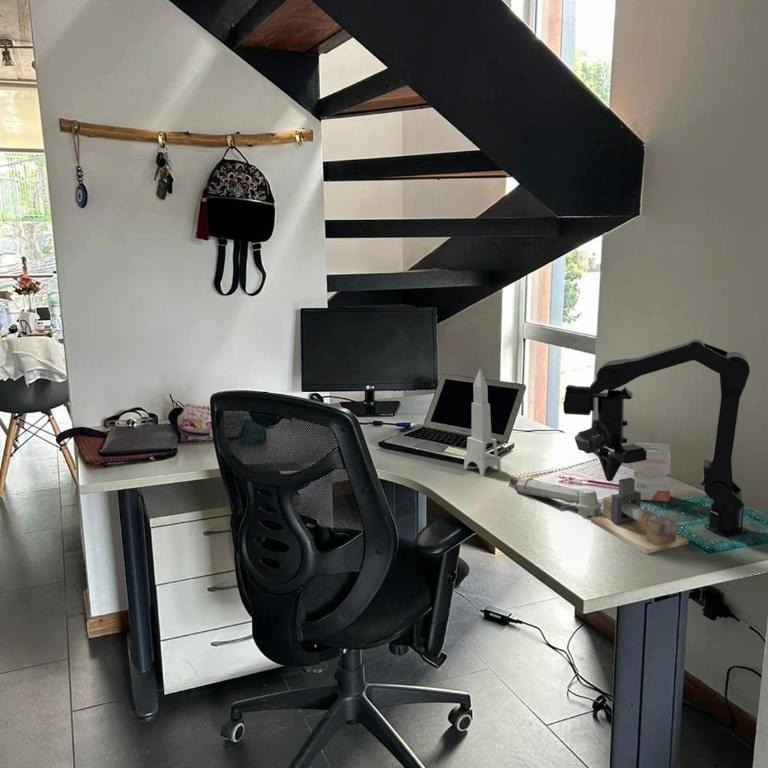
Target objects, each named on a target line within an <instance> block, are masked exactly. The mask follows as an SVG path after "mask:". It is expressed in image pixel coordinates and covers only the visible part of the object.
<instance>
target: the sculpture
mask: <svg viewBox="0 0 768 768" xmlns="http://www.w3.org/2000/svg"><path fill="white" fill-rule="evenodd" d="M472 387H473V389H472V391H473V392H472V393H473V402H471V430H470V431H471V436H467V439H466V454H464V462H463V469H465V470H467V468H468V465H469V463H471V462H472V463H475V464H476V466H477V467H478V469H479V476H483V477H485V474H486V470H487V468H488V467H489V466H491V465H495V466H496V467H497V470H498V471H499V472H501V471H502V469H501V468H502V467H501V457H499V455H498V443H497V439H496V438H492V423H491V419H492V417H491V404H490V403H489V402H488V401H489V399H488V398H489V394H488V383H487V381H486V379H485V376H484V373H483V372H482V369H481V368H478V372H477V375H476V377H475V380H474V382H473V385H472ZM488 444H492V446H493V453H494V454H491V453H489V452H487V451H486V450H487V445H488Z"/></svg>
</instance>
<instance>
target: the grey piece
mask: <svg viewBox="0 0 768 768" xmlns="http://www.w3.org/2000/svg"><path fill="white" fill-rule="evenodd" d="M514 490H515V491H516V493H519V494H523V495H526V496H527V497H529V496H535V497H541V498H548V499H554V500H561V501H568V502H573V503H575V507H576V508H577V512H578V515H579V516H581V517H583V518H587V517H591V518H592V517H597V516H602V511H601V508H603V504H602V503H603V501H602V502H601V501H599V500H598V496H597V495H598V494H597V492H596V491H595V489H589V488H588V489H586V488H585V489H577V488H572V487H567V486H562V485H560V484H559V485H558V484H554V483H549V482H544V481H540V480H537V479H536V480H535V479H534V478H532V477H529V478H522V477H520V478H516V480H515V482H514Z"/></svg>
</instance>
